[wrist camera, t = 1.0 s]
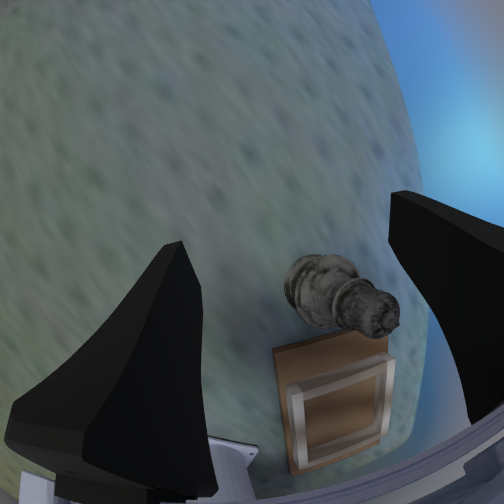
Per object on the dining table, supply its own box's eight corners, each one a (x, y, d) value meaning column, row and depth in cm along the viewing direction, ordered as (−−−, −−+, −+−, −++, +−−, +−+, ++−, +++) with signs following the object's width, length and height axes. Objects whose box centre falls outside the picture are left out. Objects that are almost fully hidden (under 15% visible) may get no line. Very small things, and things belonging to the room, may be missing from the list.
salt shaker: (267, 289, 25) (330, 342, 13) (310, 237, 25) (401, 246, 13) (313, 328, 26) (390, 389, 14) (352, 278, 26) (447, 309, 15)
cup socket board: (375, 439, 29) (387, 451, 27) (289, 471, 27) (296, 488, 24) (382, 316, 27) (400, 324, 24) (271, 348, 25) (281, 362, 22)
